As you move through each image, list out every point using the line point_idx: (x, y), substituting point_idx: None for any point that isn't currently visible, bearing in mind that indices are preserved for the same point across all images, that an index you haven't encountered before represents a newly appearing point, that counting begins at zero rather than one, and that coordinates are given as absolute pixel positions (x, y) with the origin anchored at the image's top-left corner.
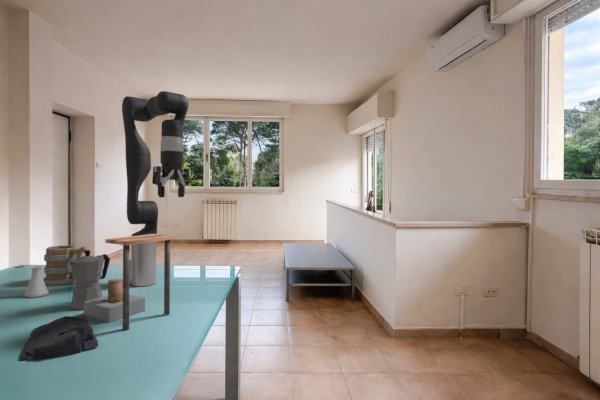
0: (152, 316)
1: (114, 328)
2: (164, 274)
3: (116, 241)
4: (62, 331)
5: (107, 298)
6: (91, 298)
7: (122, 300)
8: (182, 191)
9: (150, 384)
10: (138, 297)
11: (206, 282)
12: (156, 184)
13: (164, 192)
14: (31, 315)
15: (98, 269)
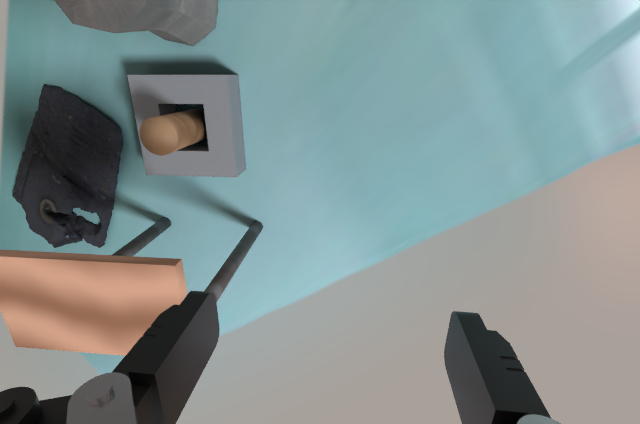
0: (233, 210)
1: (155, 201)
2: (221, 267)
3: (2, 304)
4: (50, 203)
5: (177, 100)
6: (165, 36)
7: (198, 140)
8: (459, 411)
9: (108, 363)
10: (229, 160)
11: (546, 106)
12: (54, 412)
13: (196, 375)
14: None
15: (137, 28)
